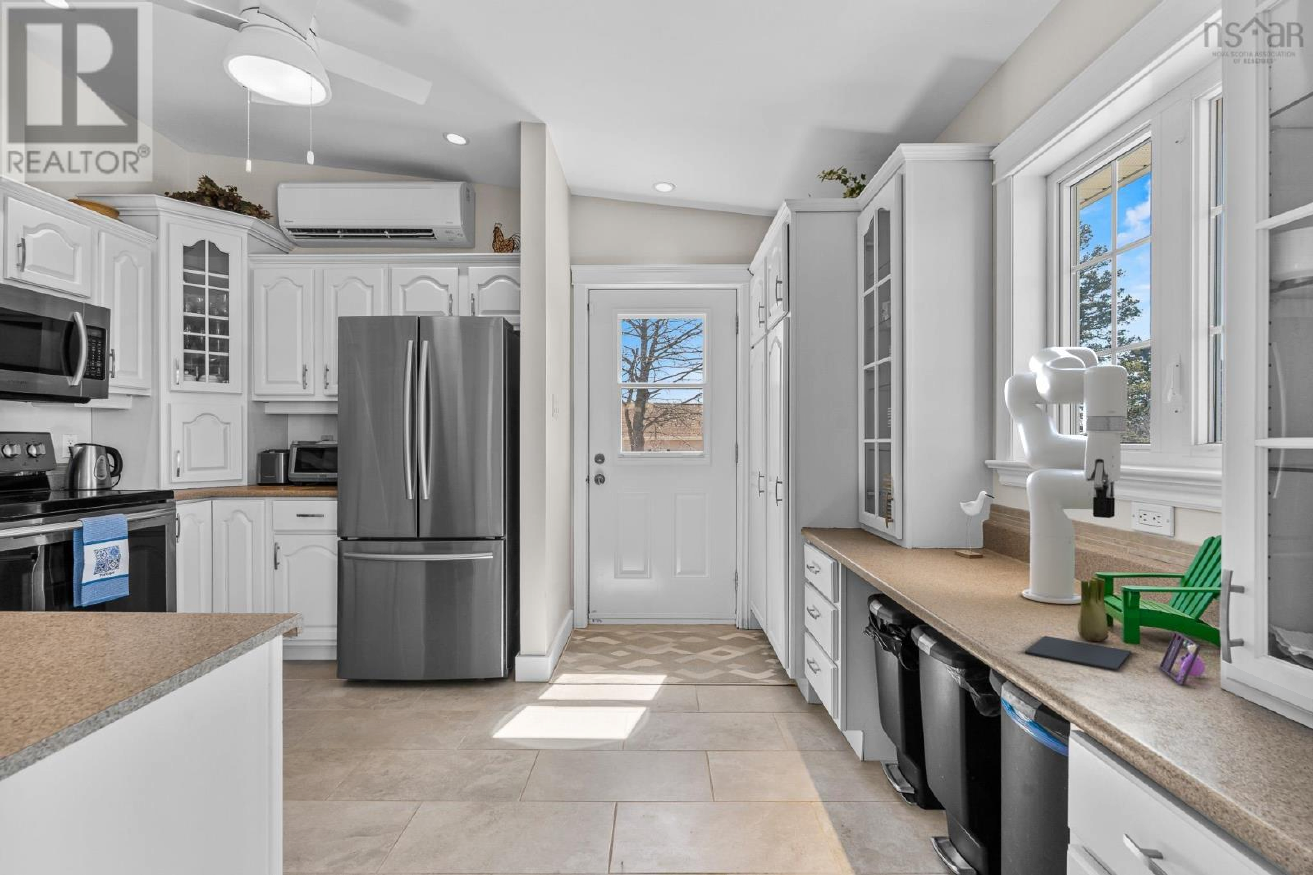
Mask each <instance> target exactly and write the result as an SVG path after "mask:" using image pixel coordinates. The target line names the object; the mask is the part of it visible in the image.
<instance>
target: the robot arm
mask: <svg viewBox="0 0 1313 875" xmlns="http://www.w3.org/2000/svg"><path fill="white" fill-rule="evenodd" d="M1029 369H1030V371H1025V372H1024V371H1023V372H1019V373H1015V374H1013V375H1011V376H1010V377H1009V378H1008V379H1007V380H1006V382H1005V385H1004V401H1005V404H1006V408H1007V411H1008V413H1009V415H1010V417H1011V418H1012V420H1013V422H1014V423H1015V426H1016V427H1017V429H1018V432H1019V436H1020V441H1021V445H1022V448H1023V453H1024V457H1025V460H1026V464H1027V465H1028V466H1029V468H1030V469H1032V470H1033V472H1031V473H1030V474H1029V475H1028V477H1027V480H1026V495H1027V501H1028V508H1029V529H1030V530H1029V588H1028V589H1024V590H1022V597H1024V598H1025V599H1029V600H1030V601H1031V600H1032V601H1035V602H1036V601H1037V602H1040V603H1048V604H1057V605H1076V604H1081V595H1079V594H1077V593H1075V574H1076V573H1075V572H1076V571H1075V567H1076V566H1075V565H1076V564H1075V562H1076V558H1075V557H1076V555H1075V554H1076V529H1075V526H1074V523H1073V521H1072V520H1071V519H1070V518H1069V517H1068V515H1067V514H1066V513H1065V511H1064V510H1071V509H1072V510H1092V516H1093V517H1094V518H1101V519H1102V518H1103V519H1111V518H1114V517H1115V515H1116V514H1115V512H1116V497H1115V482H1117V481H1119V480H1120V478H1121V465H1122V464H1121V461H1122V460H1121V458H1122V457H1121V456H1122V455H1121V454H1122V451H1121V443H1122V442H1121V435H1124V434H1125V435H1127V433H1128V370H1127V369H1126V367H1124V366H1122V365H1118V364H1117V365H1116V364H1103V365H1099V359H1098V356H1097V354H1096V353H1095V351H1094V350H1093V349H1091V348H1089V347H1085V346H1053V347H1045V348H1042V349H1039V350H1037V351H1036V352H1034V353H1033V355H1032V356H1031V357H1030V360H1029ZM1070 404H1071V405H1072V404H1073V405H1075V404H1083V411H1082V412H1083V414H1082V415H1083V416H1082V417H1083V418H1082V419H1083V420H1082V421H1083V422H1082V426H1083V427H1082V429H1083V430H1082V434H1087V435H1082V434H1081V435H1080V434H1061V433H1059V431H1058V429H1057V425H1056V422H1055V420H1054V419H1053V418H1052V416H1050V415H1049V413H1047V412H1046V411H1045V410H1044V409H1042V407H1041V408H1040V407H1039V406H1038V405H1070Z"/></svg>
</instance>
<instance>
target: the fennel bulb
mask: <svg viewBox="0 0 1313 875" xmlns="http://www.w3.org/2000/svg"><path fill="white" fill-rule="evenodd" d="M1105 586H1106V580H1105V578H1101V577H1095V576H1092V577H1091V578H1089V580H1086V579H1081V580H1080V596H1081V602H1080V608H1079V615H1078V619H1077V625H1076V626H1077V632H1078V635H1079V637H1080V638H1081V639H1084V640H1089V641H1091V642H1105V641H1107V640H1108V639H1109V626H1108V619H1107V611H1106V605H1105Z"/></svg>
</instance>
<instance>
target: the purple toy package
mask: <svg viewBox="0 0 1313 875" xmlns="http://www.w3.org/2000/svg"><path fill="white" fill-rule="evenodd" d="M1182 647H1183V648H1184V649H1185V650H1187V651H1188V652H1187V653H1184V654H1182V655H1181V656H1180V657H1179V659H1178V660H1177V658H1178V656H1179V653H1180V651H1181V649H1182ZM1200 650H1201V645H1199V644H1197V643H1196V642H1194V641H1193V640H1191V639H1190V638H1188V637H1187V636H1185V635H1184V634H1182V633H1180V632H1179V631H1177V630H1176V631H1174V632H1173V635H1172V637H1171V639H1170V641H1169V643H1168V647H1167V649H1166V650H1165V653H1164V655H1163V657H1162V659H1161V660H1162V661H1161V662H1160V664H1159V668H1160V669H1161V670H1162V671H1163V672H1164V673H1166V674H1167V675H1168V676H1169V677H1170V678H1172V679H1173V680H1174V681H1176V682H1177V683H1178V684H1179V685H1181V686H1184V685H1185V684H1186V681H1187V679H1188V677H1189V676H1190V677H1196V678H1197V677H1198V678H1199V679H1201V678H1203V675H1204V673H1205V671H1206V665H1205V662H1204V661H1203V660H1202V659H1201V657H1199V655H1198V654H1199V652H1200ZM1176 660H1177V662H1178V665H1179V667H1180V670H1179V673H1178V677H1177V676H1176V675H1175V674H1173V673H1172V670H1173V667H1174V665H1175V663H1176ZM1183 673H1184V675H1183Z"/></svg>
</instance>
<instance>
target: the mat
mask: <svg viewBox="0 0 1313 875" xmlns="http://www.w3.org/2000/svg"><path fill="white" fill-rule="evenodd" d="M1024 654H1026V655H1032V656H1037V657H1043V658H1048V659H1052V660H1058V661H1063V662H1068V663H1073V664H1077V665H1085V666H1089V667H1094V668H1098V669H1103V670H1109V671H1113V672H1114V671H1115V672H1117V671H1118V670H1119V669H1120V667H1121V666H1122V665H1123V664H1124V662H1125V661H1126V660H1127V659H1128V657H1129V656H1130V655H1131V654H1132V650H1127V649H1122V648H1117V647H1111V646H1106V645H1100V644H1093V643H1089V642H1082V641H1077V640H1071V639H1066V638H1059V637H1054V636H1048V635H1044V636H1042V637H1041V638H1040V639H1039V640H1038V641H1036V642H1035V643H1034V644H1032V645H1031V646H1030V647H1029V648H1027V649H1026V650H1025V651H1024Z"/></svg>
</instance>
